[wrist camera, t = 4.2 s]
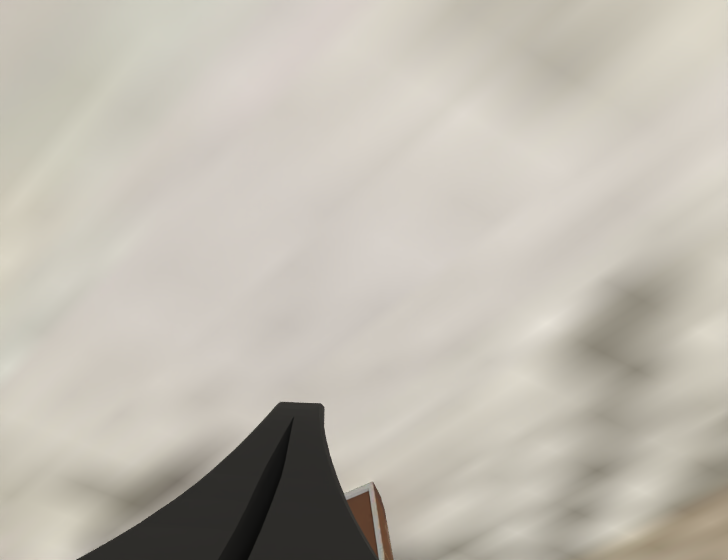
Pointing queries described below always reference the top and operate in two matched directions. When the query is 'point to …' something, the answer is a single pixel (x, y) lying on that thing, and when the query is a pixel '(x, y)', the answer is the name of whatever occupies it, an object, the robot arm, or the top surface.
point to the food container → (371, 518)
